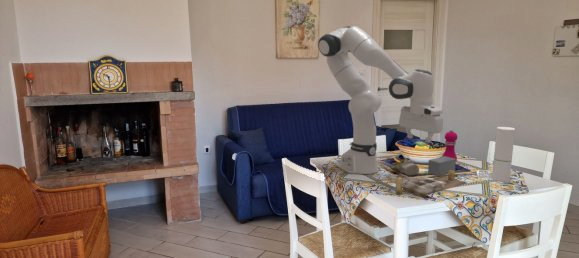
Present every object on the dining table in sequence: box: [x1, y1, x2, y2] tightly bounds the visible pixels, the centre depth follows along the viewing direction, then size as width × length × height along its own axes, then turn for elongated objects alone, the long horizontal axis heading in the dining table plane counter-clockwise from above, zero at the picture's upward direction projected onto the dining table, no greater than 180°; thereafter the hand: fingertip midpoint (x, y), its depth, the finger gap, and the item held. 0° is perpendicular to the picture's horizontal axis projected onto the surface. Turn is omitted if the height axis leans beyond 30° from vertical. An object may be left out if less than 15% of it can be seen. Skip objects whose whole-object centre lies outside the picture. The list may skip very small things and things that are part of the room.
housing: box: [427, 156, 457, 177], centre depth 194 cm, size 6×12×8 cm, turn 122°
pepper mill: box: [441, 128, 458, 162], centre depth 206 cm, size 7×7×20 cm
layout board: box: [402, 170, 468, 199], centre depth 177 cm, size 12×28×6 cm, turn 123°
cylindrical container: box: [491, 126, 516, 184], centre depth 182 cm, size 7×7×25 cm
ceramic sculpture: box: [389, 157, 420, 176], centre depth 196 cm, size 11×9×15 cm
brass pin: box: [395, 176, 404, 196], centre depth 170 cm, size 3×3×7 cm
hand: (418, 140), depth 175 cm, fingers open, 8 cm apart
